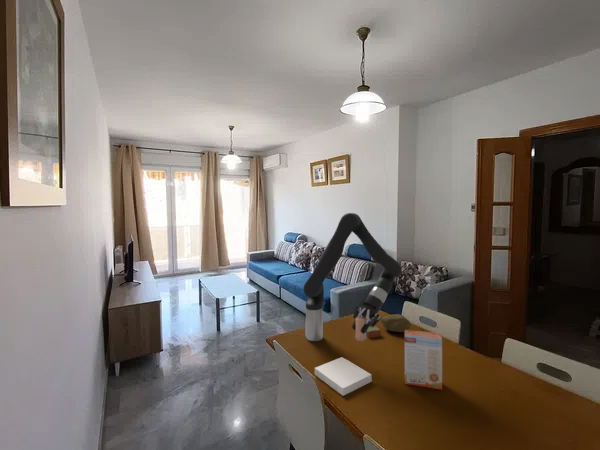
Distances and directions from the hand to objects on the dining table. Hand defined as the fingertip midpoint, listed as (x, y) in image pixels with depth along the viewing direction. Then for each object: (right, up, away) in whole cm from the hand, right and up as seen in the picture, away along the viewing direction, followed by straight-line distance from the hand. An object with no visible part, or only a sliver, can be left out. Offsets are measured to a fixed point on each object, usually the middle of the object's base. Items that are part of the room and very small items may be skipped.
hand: (357, 330), depth 131 cm
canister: (+2, -4, +1) cm, 5 cm away
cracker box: (+25, -18, -10) cm, 32 cm away
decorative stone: (+30, -15, +41) cm, 53 cm away
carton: (+14, -16, +41) cm, 46 cm away
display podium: (-8, -18, -5) cm, 20 cm away
